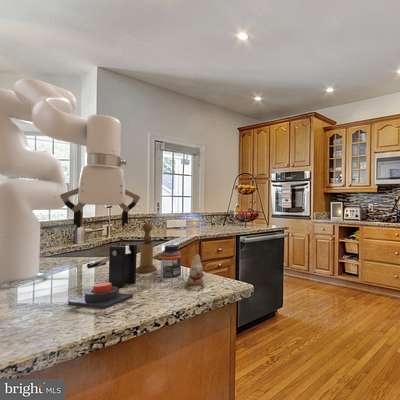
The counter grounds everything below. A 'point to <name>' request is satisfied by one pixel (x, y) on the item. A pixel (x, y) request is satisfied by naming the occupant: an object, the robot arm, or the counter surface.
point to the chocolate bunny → (196, 272)
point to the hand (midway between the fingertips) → (101, 226)
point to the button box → (101, 299)
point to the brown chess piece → (146, 252)
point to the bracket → (122, 265)
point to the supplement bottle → (171, 262)
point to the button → (102, 287)
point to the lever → (105, 260)
